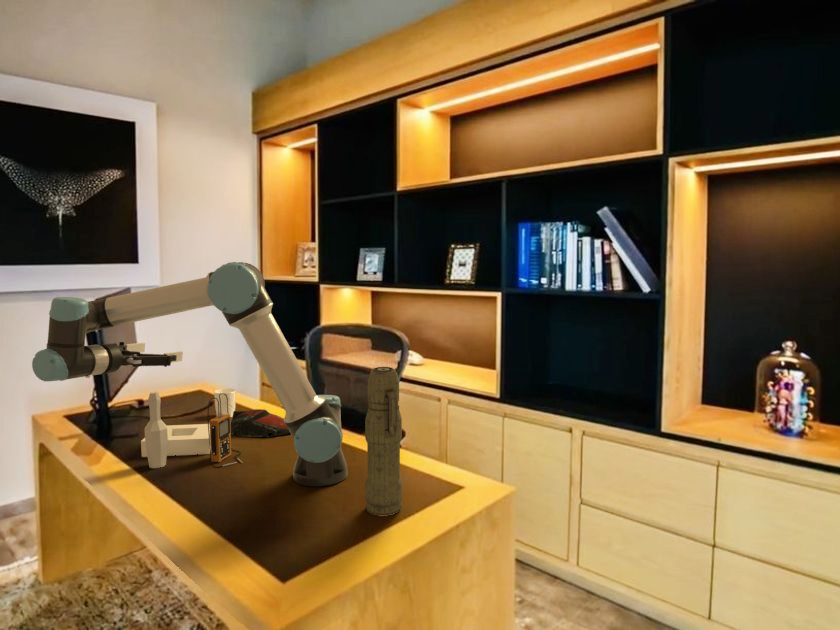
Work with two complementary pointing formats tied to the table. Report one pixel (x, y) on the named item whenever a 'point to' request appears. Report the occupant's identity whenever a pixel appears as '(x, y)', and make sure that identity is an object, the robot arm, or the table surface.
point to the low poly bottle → (156, 434)
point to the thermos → (383, 442)
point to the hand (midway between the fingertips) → (162, 351)
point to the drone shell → (257, 423)
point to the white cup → (225, 401)
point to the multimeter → (220, 436)
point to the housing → (185, 440)
